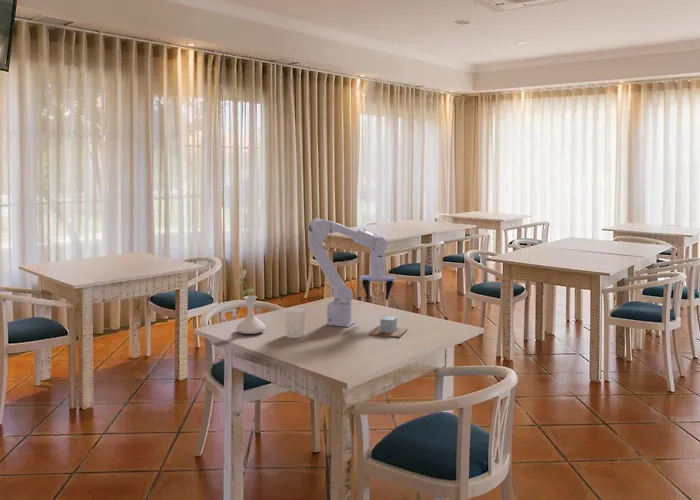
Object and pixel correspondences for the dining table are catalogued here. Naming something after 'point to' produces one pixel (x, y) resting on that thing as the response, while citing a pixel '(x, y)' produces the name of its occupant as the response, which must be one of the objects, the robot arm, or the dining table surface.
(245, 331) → the flower in vase
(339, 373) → the dining table surface
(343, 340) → the dining table surface
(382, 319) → the blue cube
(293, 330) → the white cup
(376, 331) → the walnut board
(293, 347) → the dining table surface
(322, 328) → the dining table surface
